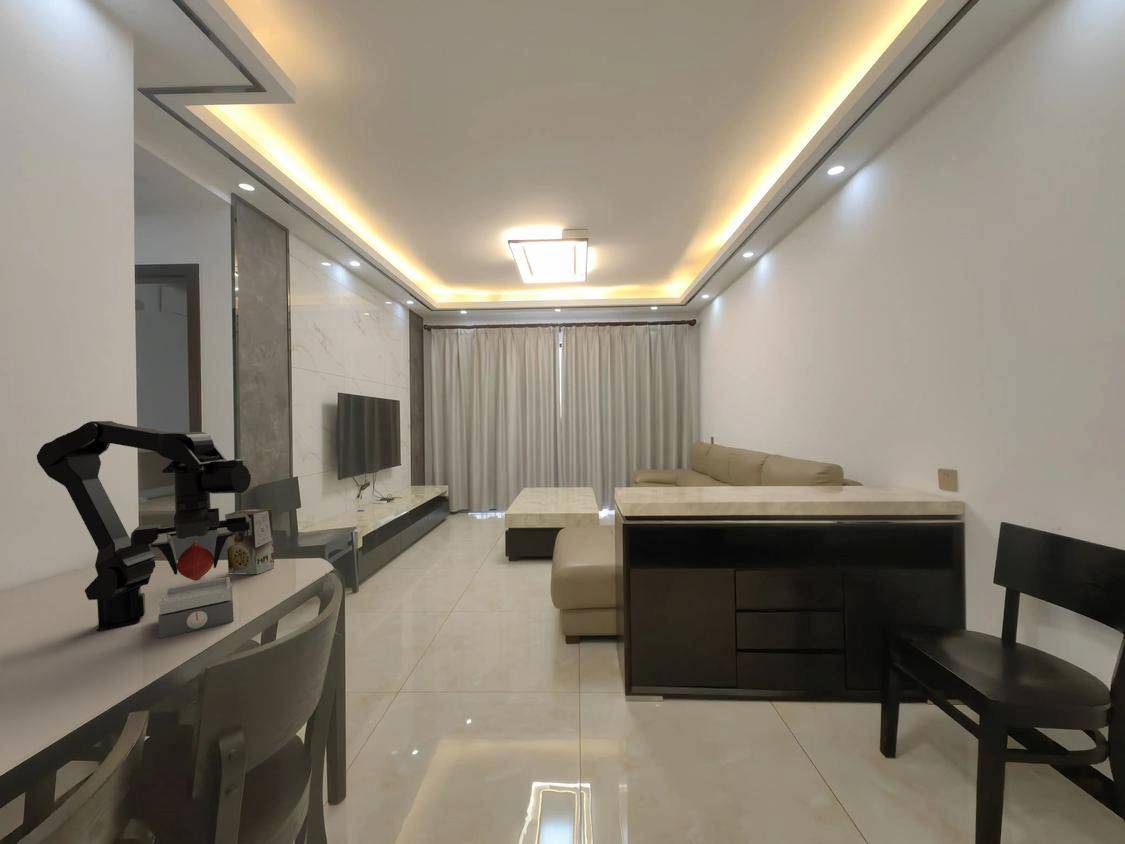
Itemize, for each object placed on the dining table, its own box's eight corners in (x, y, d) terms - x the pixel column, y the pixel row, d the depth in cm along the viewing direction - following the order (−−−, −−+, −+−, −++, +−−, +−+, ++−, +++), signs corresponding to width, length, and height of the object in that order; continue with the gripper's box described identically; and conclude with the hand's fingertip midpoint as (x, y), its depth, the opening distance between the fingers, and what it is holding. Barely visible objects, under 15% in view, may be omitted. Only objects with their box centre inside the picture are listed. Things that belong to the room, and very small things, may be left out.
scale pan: (160, 614, 90) (159, 605, 90) (165, 597, 99) (165, 588, 99) (231, 599, 97) (230, 590, 97) (230, 584, 106) (229, 576, 106)
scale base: (158, 639, 90) (157, 618, 90) (165, 618, 100) (164, 599, 99) (233, 622, 96) (232, 602, 96) (232, 603, 106) (231, 585, 106)
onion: (183, 587, 94) (181, 546, 94) (174, 582, 97) (172, 542, 97) (218, 579, 99) (216, 540, 98) (208, 574, 102) (206, 536, 102)
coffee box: (275, 567, 132) (272, 508, 132) (256, 575, 126) (253, 513, 125) (247, 566, 134) (244, 508, 133) (226, 574, 127) (223, 513, 127)
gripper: (124, 506, 86) (128, 593, 86) (249, 493, 96) (252, 571, 97) (133, 498, 95) (137, 576, 95) (246, 487, 106) (249, 558, 106)
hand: (195, 570), depth 98 cm, fingers closed on onion, 6 cm apart
